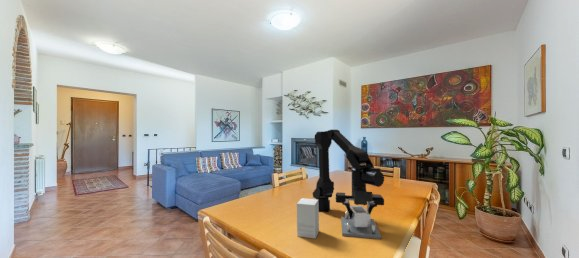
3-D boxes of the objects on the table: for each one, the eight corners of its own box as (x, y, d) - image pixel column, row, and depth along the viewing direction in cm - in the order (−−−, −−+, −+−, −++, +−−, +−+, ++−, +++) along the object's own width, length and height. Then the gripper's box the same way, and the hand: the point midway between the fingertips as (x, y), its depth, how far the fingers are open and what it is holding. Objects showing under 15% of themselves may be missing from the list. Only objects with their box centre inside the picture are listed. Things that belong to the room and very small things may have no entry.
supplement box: (319, 230, 90) (319, 199, 90) (315, 239, 83) (315, 205, 83) (301, 228, 92) (301, 197, 92) (296, 236, 85) (296, 203, 85)
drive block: (354, 227, 88) (354, 213, 88) (348, 217, 98) (348, 205, 98) (370, 227, 87) (370, 214, 87) (362, 217, 97) (362, 205, 97)
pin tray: (342, 235, 85) (342, 225, 85) (341, 218, 102) (341, 209, 102) (381, 239, 83) (381, 228, 83) (373, 221, 99) (373, 212, 99)
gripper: (335, 185, 87) (335, 225, 86) (387, 187, 83) (387, 229, 83) (335, 179, 97) (335, 215, 97) (381, 180, 94) (381, 218, 94)
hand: (359, 219), depth 92 cm, fingers closed on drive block, 6 cm apart
